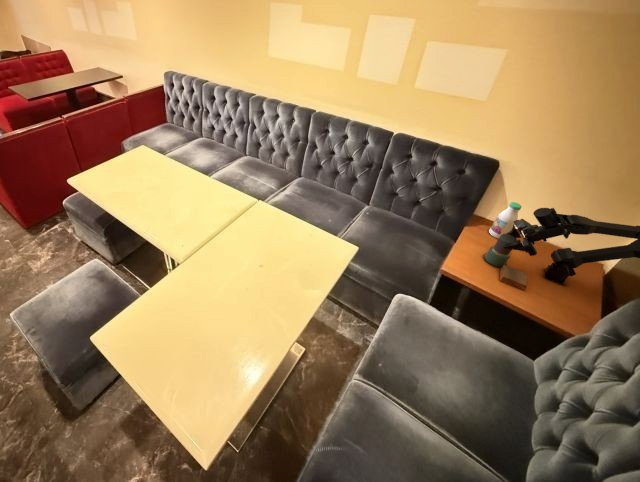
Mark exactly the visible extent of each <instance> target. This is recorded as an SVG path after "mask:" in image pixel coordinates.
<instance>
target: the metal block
mask: <svg viewBox="0 0 640 482" xmlns="http://www.w3.org/2000/svg"><path fill="white" fill-rule="evenodd" d="M499 272H500V275H499V282H502V283H504V284H507V285H509V286H512V287H514V288H517V289H519V290H522V291H524V290H525V289H526V288H527V286H528V277H527V276H528V274H527V272H525V271H521V270H519V269H517V268H514V267H511V266H509V265H506V264H505V265H503V266H502V267H501V268H500V271H499Z"/></svg>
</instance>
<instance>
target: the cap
mask: <svg viewBox="0 0 640 482" xmlns="http://www.w3.org/2000/svg"><path fill="white" fill-rule="evenodd" d="M518 240H519V239H518V238H515V237H513V236H511V235H509V234H502V235H501V236H500V238H497V241H496V242H495V244H494V245H493V246H494V250H495V251H497V252H498V253H500V254H503V255H508V254H510V255H511V252H512V251H513V250H512V249H504V247H503V246H506V245H509V244H512V243H515V242H517V241H518Z"/></svg>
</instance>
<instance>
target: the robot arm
mask: <svg viewBox="0 0 640 482" xmlns="http://www.w3.org/2000/svg"><path fill="white" fill-rule="evenodd" d="M533 216H534V218H535V219H536V220H537V222H538V223H539V224H531V223H530V222H528V221H527V220H526V219H524V218H520V219H517V220H516V221H513V222H514V224H515V225H513V228H512V230H511V231H509V232H508V233H506V234H509V235H511V236H513V237H515V238H516V239H517V240H518V241H517V242H515V243H512V244H509V245H506V246H503V247H504V249H512V251H513V250H514V251H520V252H525V253H527V254H528V255H529V256H530V257H533V256H537V255H538V249H536V247H535V244H536V242H539V241H543V242H547V241H548V239H552V238H556V237H561V236H563V237H564V239H566V240H567V239H569V237H570V235H571V234H572V235H581V236H584V235H585V236H587V235H591V234H597V235H598V234H599V235H605V236H613V237H618V238H626V239H635V240H633V241H632V242H630V243H629V244H628V243H627V244H625V245H617V246H610V247H602V248H595V249H589V250H588V249H587V250H581V251H580V250H579V251H577V250H572V248H571V247H566V248H565V247H564V248H557V249H556V250H553V251H552V252H551V254H550V258H551V260H552V263H551V264H549V265H547V266H546V268H545V269H544V270H543V274H544V278H545V279H546V280H548V281H551V282H554V283H557V284H559V285H562V286H564V285H565V281H566V280H567V279H568V278H569V277H573V276H577V273H576V270H575V269H577V268H579V267H581V266H582V265H584V264H591V263H599V262H606V261H607V262H608V261H614V260H615V261H616V260H623V259H632V258H637V259H640V225H629V224H621V223H614V222H606V221H599V220H594V219H592V218H588V217H587V216H583V215H579V214H563V213H557V210H556V209H555V207H551V208H549V207H539V208H537V209H535V210H534V211H533ZM521 238H522V239H523V240H521Z"/></svg>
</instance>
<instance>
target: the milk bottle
mask: <svg viewBox="0 0 640 482" xmlns="http://www.w3.org/2000/svg"><path fill="white" fill-rule="evenodd" d="M521 209H522V205H521V204H520V203H518V202H514V201H511V202H510V203H509V204H508V207H507V208H506V209H504V210H502V211H500V213H499V214H498V215H497V217H496V219H495V220H494V221H493V223H492V224H491V226H490V228H489V230H488V232H489V234H490V235H491V236H492V237H494V238H496V239H499V238H500V236H501V235H502V234H506V233H508V232H509V231H511V230H512V228H513V225H514V226H516V225H515V224H514V222H513V221H516V220H519V219H518V218H519V212H520V211H521Z"/></svg>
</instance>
